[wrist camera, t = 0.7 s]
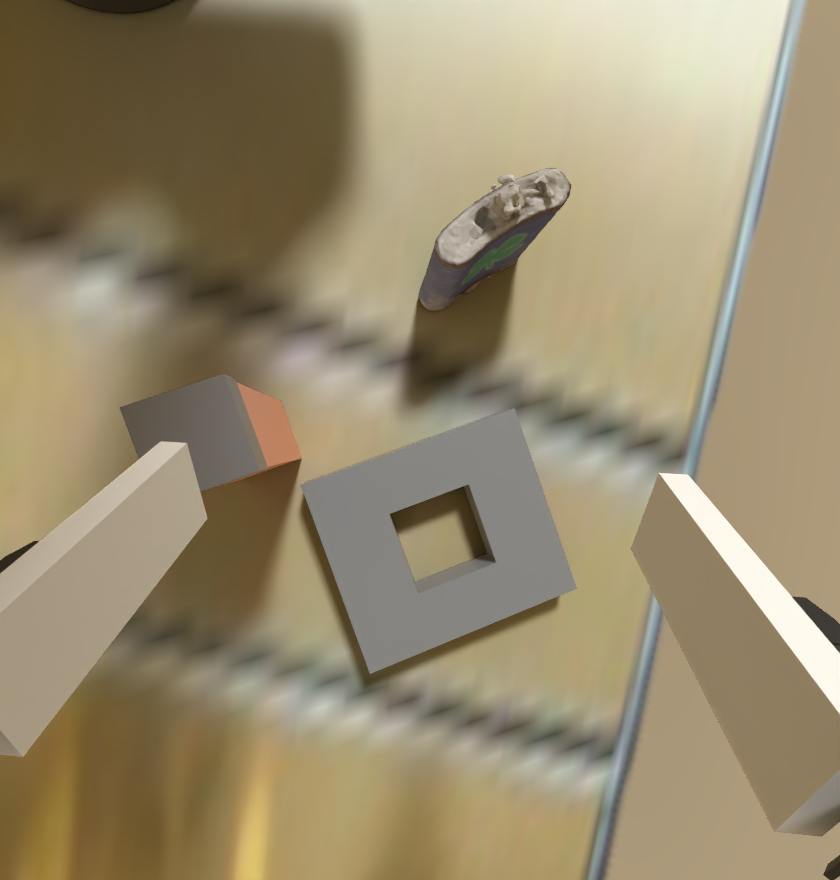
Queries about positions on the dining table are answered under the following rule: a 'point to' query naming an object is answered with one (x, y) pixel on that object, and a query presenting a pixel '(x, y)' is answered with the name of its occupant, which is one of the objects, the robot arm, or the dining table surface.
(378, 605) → the socket plate
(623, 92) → the dining table surface
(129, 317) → the dining table surface
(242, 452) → the plug
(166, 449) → the robot arm
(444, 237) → the flask
